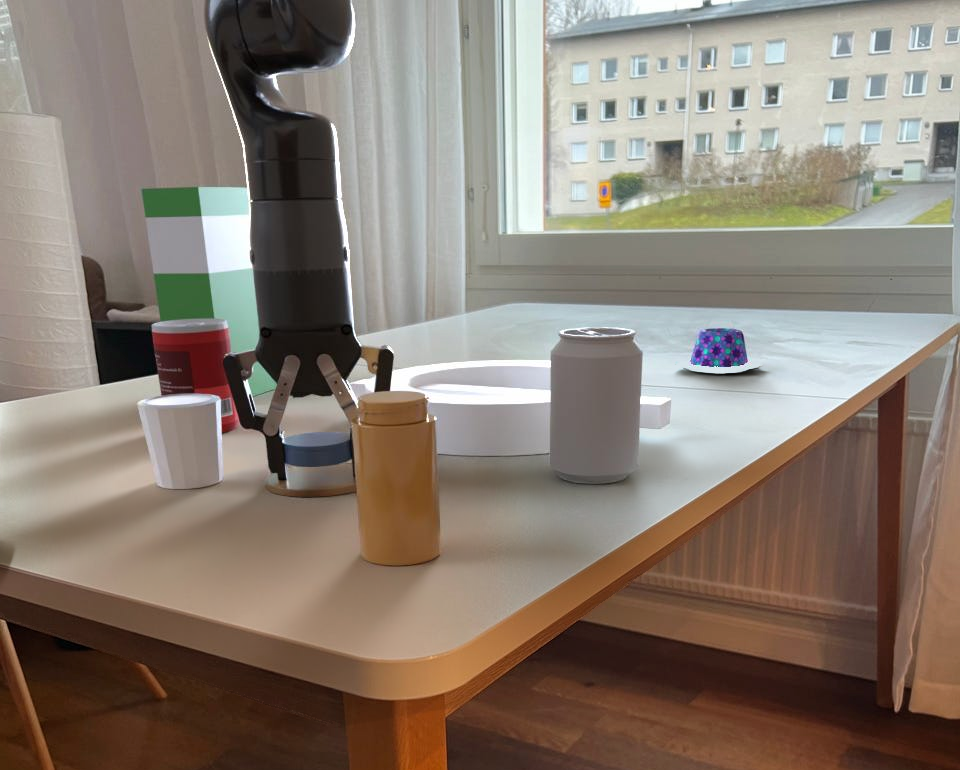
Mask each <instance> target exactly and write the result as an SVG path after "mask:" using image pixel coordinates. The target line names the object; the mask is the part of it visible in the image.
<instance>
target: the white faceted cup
mask: <svg viewBox="0 0 960 770" xmlns="http://www.w3.org/2000/svg"><path fill="white" fill-rule="evenodd" d="M136 405H137V410H138V413H139V418H140V422H141V426H142V429H143V434H144V438H145V441H146V446H147V449H148V455H149V458H150V461H151V465H152V470H153V474H154V477H155V482H156V485H157V487H160V488H162V489H167V490H168V489H169V490H189V489H200V488H206V487H210V486H212V485H216V484H219V483H220V482H221V481H223V480H224V463H223V462H224V461H223V460H224V459H223V458H224V457H223V433H222V427H221V399H220V397H219V396H215V395H210V394H196V393H192V394H171V395H164V396H161V395H157V396H153V397H149V398H148V397H147V398H144V399H142V400H140V401H138V402H136Z"/></svg>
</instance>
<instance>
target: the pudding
mask: <svg viewBox="0 0 960 770" xmlns="http://www.w3.org/2000/svg"><path fill="white" fill-rule="evenodd" d="M747 354H748V353H747V348H746V341H745V335H744V332H743V331H742V330H740V329H736V328H726V327H717V328H713V327H712V328H706V329H705V328H704V329H701V330H700V331H699V332H698V334H697V337H696V340H695V343H694V346H693V350H692V354H691V357H690V359H691V360H690V362H691V364H693V365H701V366H709V367H714V366H716V367H717V366H718V367H731V366H740V365H744V364H745V363H747V362H748V360H749V359H748V355H747Z"/></svg>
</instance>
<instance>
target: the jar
mask: <svg viewBox="0 0 960 770" xmlns="http://www.w3.org/2000/svg"><path fill="white" fill-rule="evenodd" d="M428 402H429V397H428V395H426V394H424V393H420V392H414V391H383V392H374V393H369V394H364V395H362V396H360V397H358V408H356V409H357V412H359V416H358V417H355V418H353V419H352V421H351V425H352V427H351V428H352V439H353V452H354V466H355V480H356V491H355V493H356V506H357V518H358V521H357V522H358V533H359V548H360V556H361V558H362V559H363V560H365V561H366V562H368V563H371V564H375V565H380V566H390V567H391V566H393V567H394V566H395V567H397V566H410V565H417V564H422V563H426V562H429V561H432V560H434V559H436V558H437V557H439V555H440V554H441V553H442V537H441V513H440V512H441V511H440V487H439V461H438V459H439V458H438V454H437V433H436V417H435V416H434V415H431V414H428ZM351 425H350V426H351Z"/></svg>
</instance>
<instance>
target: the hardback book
mask: <svg viewBox="0 0 960 770" xmlns="http://www.w3.org/2000/svg"><path fill="white" fill-rule="evenodd" d="M141 196H142V205H143V208H144V210H143V211H144V217H145V222H146V223H145V224H146V230H147V231H146V232H147V236H148V237H147V239H148V244H149V252H150V256H151V257H150V258H151V266H152V273H153V278H154V279H153V280H154V286H155V292H156V300H157V307H158V313H159V320H160V321H159V322H163V321H170V320H181V319H223V320H226V321H227V325H228V328H229V336H230V344H231V352H237V353H239V352H244V351H248V350H253V349H255V348H256V345H257V343H258V340H259V324H258V314H257V305H256V296H255V286H254V277H253V267H252V264H251V261H250V239H249V202H251V200H249V197H248V187H232V186H231V187H229V186H227V187H226V186H223V187H222V186H183V187H182V186H181V187H155V188H149V187H148V188H141ZM247 380H248V384H249V387H250V391H251V394H252V398H253V397H256V396H258V395H262V394H264V393H268V392H270V391H273V390H275V389H276V386H277V384H276V382H275V381H274V380H273V379H272V378H271V377H270V375H269V374H268V373H267V372H266V371H265V369H264V368H263V367H262V366H261V365H260V364H259V362H256V363H254V365H253V374H252V376H251V377H250V378H249V379H247Z"/></svg>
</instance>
